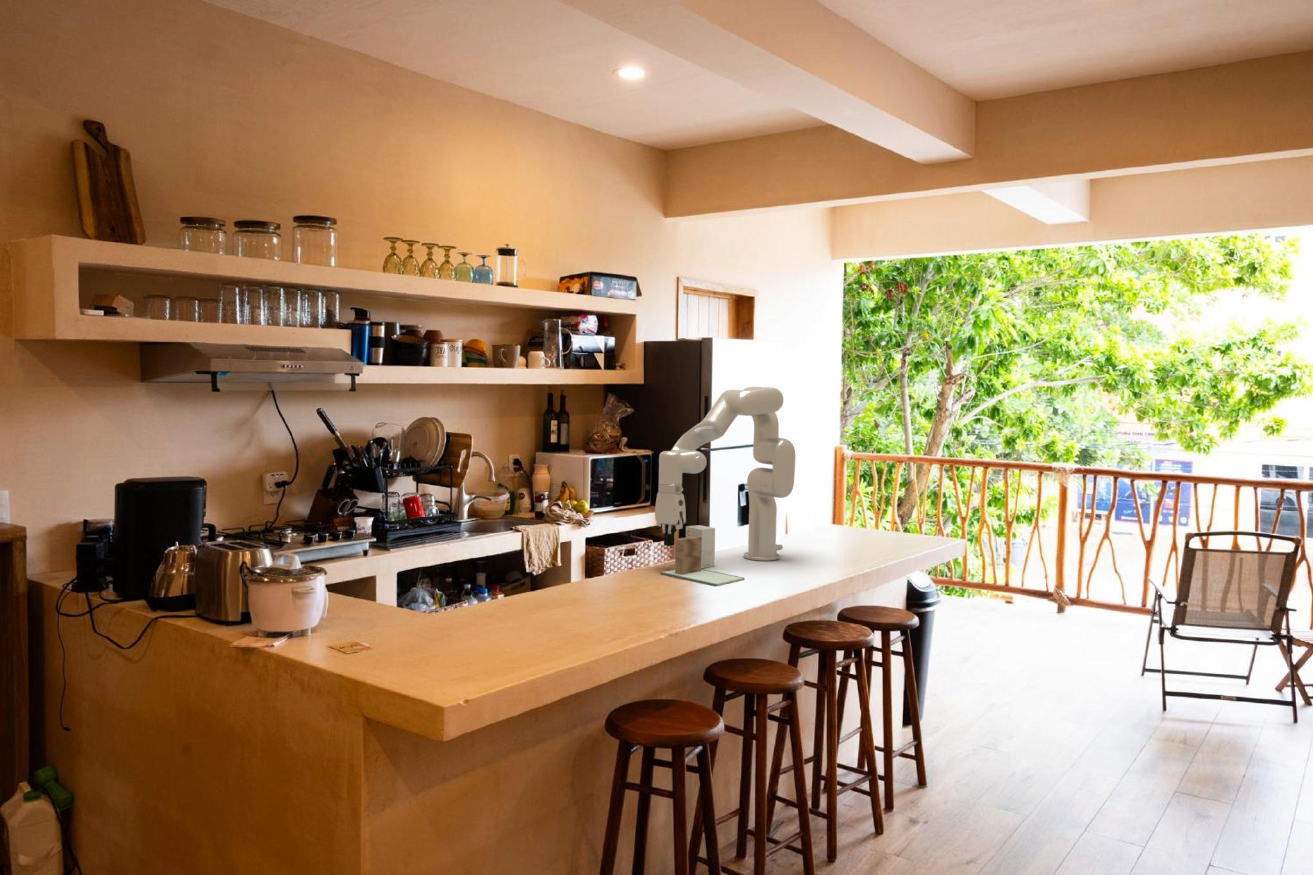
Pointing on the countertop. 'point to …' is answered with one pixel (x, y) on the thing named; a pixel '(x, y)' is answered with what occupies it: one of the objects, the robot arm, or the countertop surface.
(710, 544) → the small box
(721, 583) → the mat
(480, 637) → the countertop surface
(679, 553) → the slab
